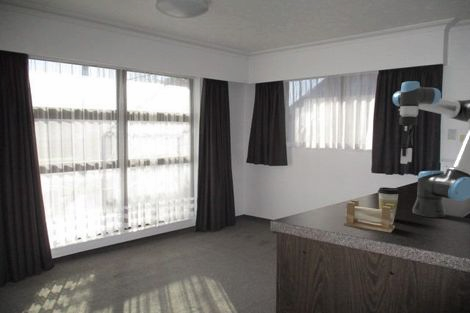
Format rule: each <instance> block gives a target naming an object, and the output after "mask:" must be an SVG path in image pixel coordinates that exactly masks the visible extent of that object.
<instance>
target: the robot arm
mask: <svg viewBox="0 0 470 313" xmlns="http://www.w3.org/2000/svg"><path fill="white" fill-rule="evenodd" d="M392 103H393V104H394V105H395V106H396V107H399V109H398V111H399V124H398V125H401V126H402V134H401V141H400V146H399V150H400V164H405V165H407V164H408V163H412V157H413V149H415V145H414V141H413V140H414V138H413V133H414V127H413V126H417V125H418V120H419V117H418V115H419V110H422V111H426V112H431V113H435V114H439V115H444V116H445V117H447V118H449V119H453V120H457V121H461V122H465V123H468V124H469V126H468V127H467V130H466V133H465V135H464V136H463V137H464V138H463V140H462V142H461V144H460V147H459V150H458V152H457V154H456V155H455V156H456V157H455V159H454V161H453V163H452V166H450V167H449V168H447V169H446V171H445V172H444V171H443V170H424V171H420V172H419V173H418V178H417V190H416V191H417V192H416V193H417V196H416V200H415V202H414V205H413V206H412V213H413V214H414V215H418V216H421V217H427V218H445V217H446V210H445V206H444V203H443V198H445V199H449V200H452V201H460V202H461V201H466V200H469V199H470V99H465V100H459V99H450V100H449V99H445V98H442V92H441V91H440V90H439V89H438V88H435V87H422V86H421V85H420V82H419V81H415V80H414V81H413V80H412V81H409V80H408V81H404V82H402V83H401V88H400V90H399V91H398V90H397V91H396V92H395V93H393V95H392Z"/></svg>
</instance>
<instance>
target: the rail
mask: <svg viewBox="0 0 470 313" xmlns="http://www.w3.org/2000/svg"><path fill="white" fill-rule="evenodd" d="M344 212H345V214H344V215H345V217H344V218H346V215H347V205H346V206H345V211H344ZM354 219H358V221H365V222H372V223H379V224H381V223H382V210H380V209H379V208H371V207H365V206H364V207H363V206H358V207H357V206H355V209H354ZM394 220H395V217H394V210H390V224H392V225H393V224H394Z"/></svg>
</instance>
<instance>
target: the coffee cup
mask: <svg viewBox="0 0 470 313" xmlns="http://www.w3.org/2000/svg"><path fill="white" fill-rule="evenodd" d="M377 193H378V209H380V210H382V207H383V206H385V204H393V210H394V218H396V217H395V216H396V212H397V208H398V207H397V206H398V202H399V200H398V199H399V195H400V193H401V192H400V191H399V189H398V188H394V187H386V186H384V187H383V186H382V187H379V189H378V191H377Z"/></svg>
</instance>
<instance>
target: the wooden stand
mask: <svg viewBox="0 0 470 313" xmlns="http://www.w3.org/2000/svg"><path fill="white" fill-rule="evenodd" d="M359 202H360V201H359V200H357V199H351V201H347V203H346V206H347V215H346V220H345V222H343V226H346V225H347V226H346V227H353V228H359V229H360V228H361V229H365V230H372V231H379V232H385V233H392V232H393V231H394V229H395V225H393V224H390V210H393V204H385V206H383V207H382V223H379V222H372V221H365V220H358V219H354V209H355V206H357V207H360V206H359Z"/></svg>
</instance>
